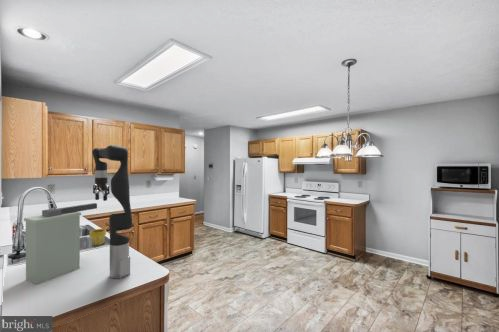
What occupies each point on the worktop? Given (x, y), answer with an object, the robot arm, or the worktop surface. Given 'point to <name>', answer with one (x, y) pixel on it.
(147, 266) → the worktop surface
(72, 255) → the tall capped green box
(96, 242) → the plant pot
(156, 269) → the worktop surface
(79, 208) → the long gray t-shaped bar
